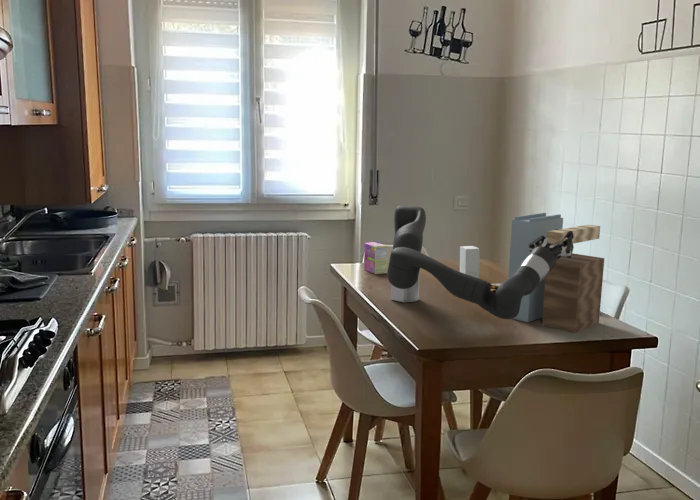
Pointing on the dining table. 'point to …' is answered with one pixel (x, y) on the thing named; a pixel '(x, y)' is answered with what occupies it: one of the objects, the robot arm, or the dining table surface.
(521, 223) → the pedestal
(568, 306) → the low stand
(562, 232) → the brown rectangular block
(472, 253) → the skincare box
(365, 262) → the box
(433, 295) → the dining table surface
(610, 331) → the dining table surface
